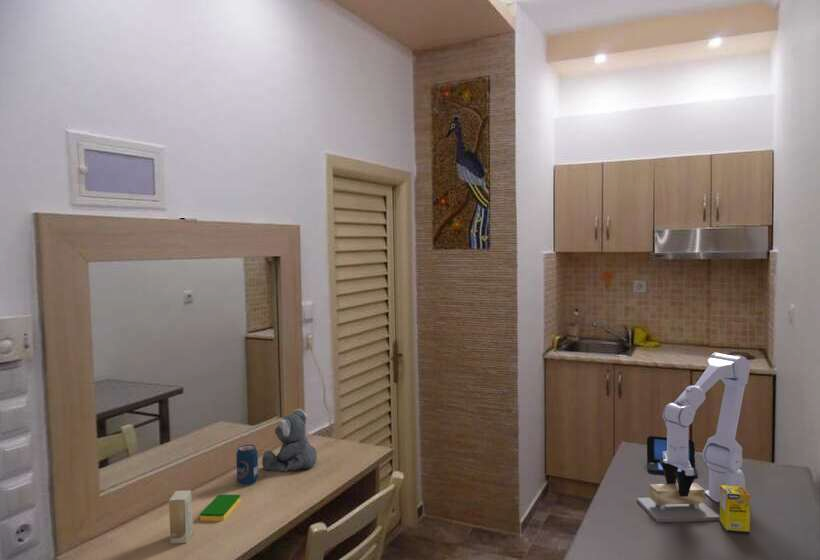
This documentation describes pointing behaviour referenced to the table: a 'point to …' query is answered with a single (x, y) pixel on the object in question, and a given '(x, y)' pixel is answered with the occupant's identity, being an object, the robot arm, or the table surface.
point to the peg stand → (678, 511)
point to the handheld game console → (656, 454)
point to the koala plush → (291, 445)
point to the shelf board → (676, 494)
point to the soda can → (247, 465)
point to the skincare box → (180, 516)
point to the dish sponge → (220, 508)
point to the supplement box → (735, 509)
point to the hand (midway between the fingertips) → (677, 490)
